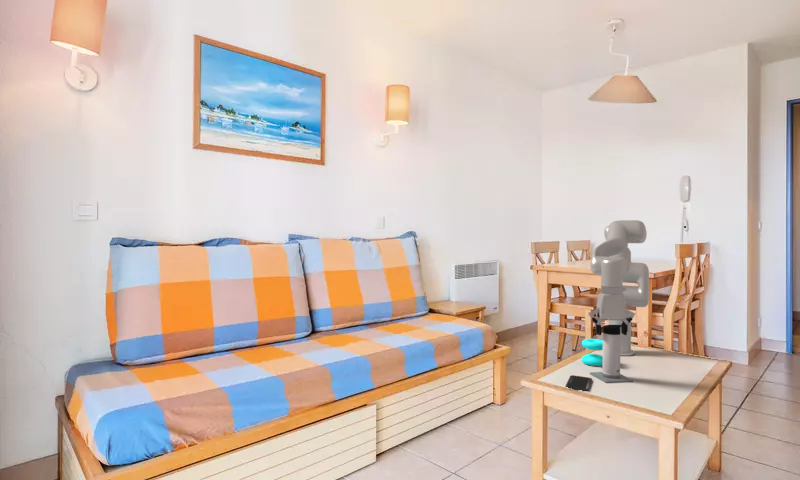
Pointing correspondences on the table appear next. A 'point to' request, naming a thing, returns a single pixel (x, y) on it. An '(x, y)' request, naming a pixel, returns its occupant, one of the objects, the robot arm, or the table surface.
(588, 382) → the phone
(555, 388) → the table surface
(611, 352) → the travel mug
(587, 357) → the donuts
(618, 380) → the coaster
